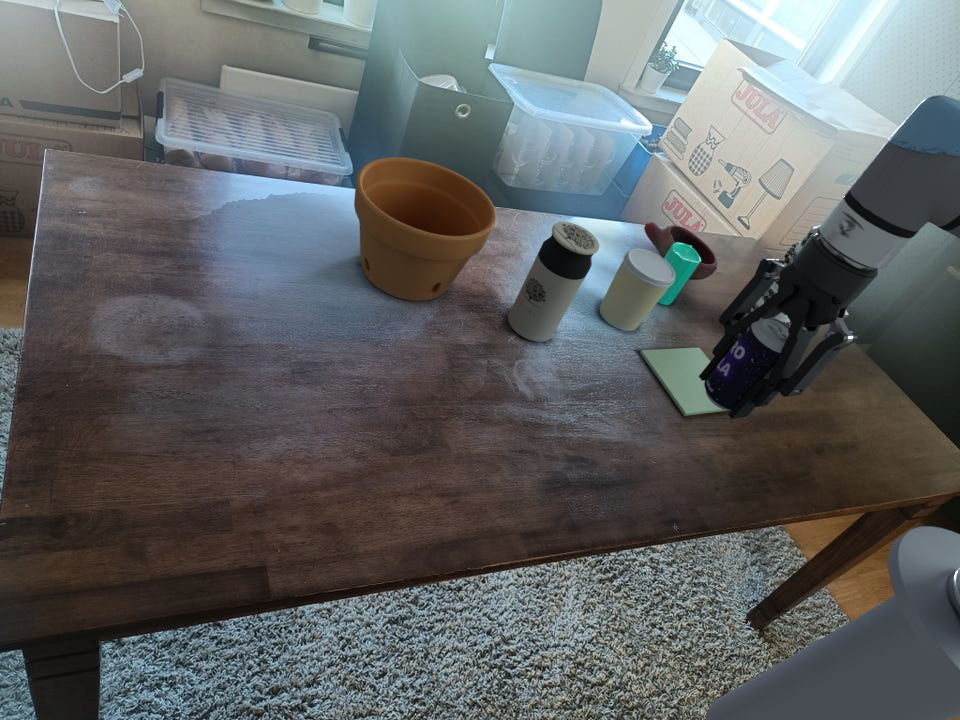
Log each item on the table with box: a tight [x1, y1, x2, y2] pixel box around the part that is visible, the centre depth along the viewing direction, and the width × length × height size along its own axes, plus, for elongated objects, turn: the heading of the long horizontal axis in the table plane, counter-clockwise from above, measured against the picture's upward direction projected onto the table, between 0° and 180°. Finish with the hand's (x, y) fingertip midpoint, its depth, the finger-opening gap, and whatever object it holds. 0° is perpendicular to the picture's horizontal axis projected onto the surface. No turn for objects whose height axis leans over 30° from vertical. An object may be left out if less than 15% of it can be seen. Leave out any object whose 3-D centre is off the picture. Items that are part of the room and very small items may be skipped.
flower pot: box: [353, 156, 497, 302], centre depth 97 cm, size 21×21×15 cm
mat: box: [639, 347, 730, 417], centre depth 107 cm, size 14×14×1 cm
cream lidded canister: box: [599, 248, 675, 332], centre depth 110 cm, size 9×9×12 cm
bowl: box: [644, 221, 718, 281], centre depth 130 cm, size 16×13×8 cm
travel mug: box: [507, 221, 601, 343], centre depth 97 cm, size 8×8×18 cm
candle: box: [657, 242, 701, 306], centre depth 120 cm, size 6×6×12 cm
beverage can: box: [704, 317, 790, 411], centre depth 76 cm, size 6×6×12 cm
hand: (722, 396), depth 80 cm, fingers closed on beverage can, 6 cm apart
